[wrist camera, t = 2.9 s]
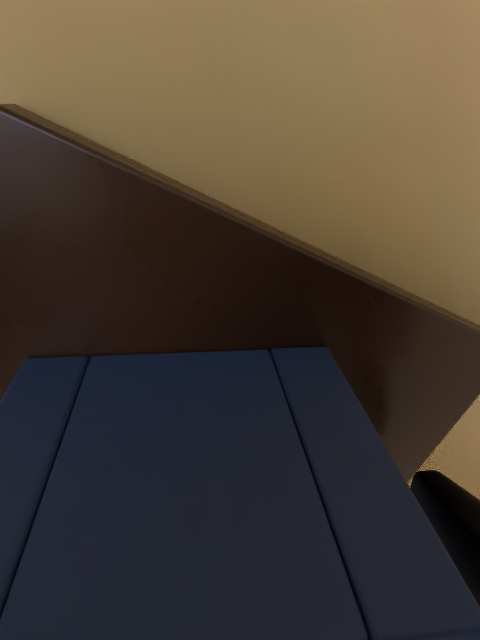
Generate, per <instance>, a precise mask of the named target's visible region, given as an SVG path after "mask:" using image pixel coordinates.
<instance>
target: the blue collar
mask: <svg viewBox="0 0 480 640" xmlns="http://www.w3.org/2000/svg"><path fill="white" fill-rule="evenodd" d="M0 640H480V607H479V605H478V603H477V602H476V600H475V598H474V597H473V595H472V593H471V591H470V590H469V588H468V586H467V585H466V583H465V581H464V579H463V578H462V576H461V574H460V573H459V571H458V569H457V567H456V566H455V564H454V562H453V561H452V559H451V557H450V556H449V554H448V552H447V550H446V549H445V547H444V545H443V544H442V542H441V540H440V538H439V537H438V535H437V533H436V532H435V530H434V528H433V527H432V525H431V523H430V521H429V520H428V518H427V516H426V515H425V513H424V511H423V509H422V508H421V506H420V504H419V503H418V501H417V499H416V498H415V496H414V494H413V492H412V491H411V489H410V487H409V486H408V484H407V482H406V480H405V479H404V477H403V475H402V474H401V472H400V470H399V468H398V467H397V465H396V463H395V462H394V460H393V458H392V457H391V455H390V453H389V451H388V450H387V448H386V446H385V445H384V443H383V441H382V439H381V438H380V436H379V434H378V433H377V431H376V429H375V428H374V426H373V424H372V422H371V421H370V419H369V417H368V416H367V414H366V412H365V410H364V409H363V407H362V405H361V404H360V402H359V400H358V398H357V397H356V395H355V393H354V392H353V390H352V388H351V387H350V385H349V383H348V381H347V380H346V378H345V376H344V375H343V373H342V371H341V369H340V368H339V366H338V364H337V363H336V361H335V359H334V358H333V356H332V354H331V352H330V351H329V349H328V348H327V347H301V348H274V349H271V352H269V351H268V350H265V349H263V350H236V351H209V352H182V353H154V354H127V355H100V356H93V357H91V358H90V361H89V360H88V358H87V357H85V356H73V357H46V358H28V359H26V360H24V361H23V363H22V365H21V366H20V368H19V370H18V371H17V373H16V375H15V377H14V378H13V380H12V382H11V383H10V385H9V387H8V388H7V390H6V392H5V393H4V395H3V397H2V398H1V400H0Z"/></svg>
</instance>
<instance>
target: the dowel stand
mask: <svg viewBox="0 0 480 640" xmlns="http://www.w3.org/2000/svg"><path fill="white" fill-rule="evenodd" d="M301 347H327V348H328V349H329V351H330V352H331V354H332V356H333V358H334V359H335V361H336V363H337V364H338V366H339V368H340V369H341V371H342V373H343V375H344V376H345V378H346V380H347V381H348V383H349V385H350V387H351V388H352V390H353V392H354V393H355V395H356V397H357V398H358V400H359V402H360V404H361V405H362V407H363V409H364V410H365V412H366V414H367V416H368V417H369V419H370V421H371V422H372V424H373V426H374V428H375V429H376V431H377V433H378V434H379V436H380V438H381V439H382V441H383V443H384V445H385V446H386V448H387V450H388V451H389V453H390V455H391V457H392V458H393V460H394V462H395V463H396V465H397V467H398V468H399V470H400V472H401V474H402V475H403V477H404V479H405V480H406V482H408V481H409V480H410V479H411V477H412V476H413V475H414V474H415V473H416V471H417V470H418V469H419V468H420V467H421V465H422V464H423V463H424V462H425V460H426V459H427V458H428V457H429V456H430V454H431V453H432V452H433V451H434V449H435V448H436V447H437V446H438V445H439V443H440V442H441V441H442V440H443V439H444V437H445V436H446V435H447V434H448V432H449V431H450V430H451V429H452V428H453V426H454V425H455V424H456V423H457V421H458V420H459V419H460V418H461V417H462V415H463V414H464V413H465V412H466V411H467V409H468V408H469V407H470V406H471V404H472V403H473V402H474V401H475V400H476V398H477V397H478V396H479V395H480V326H479V325H477V324H475V323H473V322H471V321H469V320H467V319H464V318H462V317H460V316H458V315H456V314H454V313H452V312H450V311H448V310H446V309H443V308H441V307H439V306H437V305H435V304H433V303H431V302H429V301H427V300H425V299H422V298H420V297H418V296H416V295H414V294H412V293H410V292H408V291H406V290H404V289H401V288H399V287H397V286H395V285H393V284H391V283H389V282H387V281H385V280H383V279H380V278H378V277H376V276H374V275H372V274H370V273H368V272H366V271H364V270H362V269H360V268H357V267H355V266H353V265H351V264H349V263H347V262H345V261H343V260H341V259H339V258H336V257H334V256H332V255H330V254H328V253H326V252H324V251H322V250H320V249H318V248H315V247H313V246H311V245H309V244H307V243H305V242H303V241H301V240H299V239H297V238H294V237H292V236H290V235H288V234H286V233H284V232H282V231H280V230H278V229H276V228H274V227H271V226H269V225H267V224H265V223H263V222H261V221H259V220H257V219H255V218H253V217H250V216H248V215H246V214H244V213H242V212H240V211H238V210H236V209H234V208H232V207H229V206H227V205H225V204H223V203H221V202H219V201H217V200H215V199H213V198H211V197H208V196H206V195H204V194H202V193H200V192H198V191H196V190H194V189H192V188H190V187H188V186H185V185H183V184H181V183H179V182H177V181H175V180H173V179H171V178H169V177H167V176H164V175H162V174H160V173H158V172H156V171H154V170H152V169H150V168H148V167H146V166H143V165H141V164H139V163H137V162H135V161H133V160H131V159H129V158H127V157H125V156H122V155H120V154H118V153H116V152H114V151H112V150H110V149H108V148H106V147H104V146H102V145H99V144H97V143H95V142H93V141H91V140H89V139H87V138H85V137H83V136H81V135H78V134H76V133H74V132H72V131H70V130H68V129H66V128H64V127H62V126H60V125H57V124H55V123H53V122H51V121H49V120H47V119H45V118H43V117H41V116H39V115H36V114H34V113H32V112H30V111H28V110H26V109H24V108H22V107H20V106H18V105H16V104H0V400H1V398H2V397H3V395H4V393H5V392H6V390H7V388H8V387H9V385H10V383H11V382H12V380H13V378H14V377H15V375H16V373H17V371H18V370H19V368H20V366H21V365H22V363H23V361H24V360H26V359H28V358H46V357H73V356H85V357H87V358H88V360H89V361H90V358H91V357H93V356H100V355H127V354H154V353H182V352H209V351H236V350H263V349H265V350H268V351H269V352H271V349H274V348H301Z"/></svg>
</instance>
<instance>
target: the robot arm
mask: <svg viewBox="0 0 480 640" xmlns="http://www.w3.org/2000/svg"><path fill="white" fill-rule="evenodd" d="M410 489H411V491H412V492H413V494H414V496H415V498H416V499H417V501H418V503H419V504H420V506H421V508H422V509H423V511H424V513H425V515H426V516H427V518H428V520H429V521H430V523H431V525H432V527H433V528H434V530H435V532H436V533H437V535H438V537H439V538H440V540H441V542H442V544H443V545H444V547H445V549H446V550H447V552H448V554H449V556H450V557H451V559H452V561H453V562H454V564H455V566H456V567H457V569H458V571H459V573H460V574H461V576H462V578H463V579H464V581H465V583H466V585H467V586H468V588H469V590H470V591H471V593H472V595H473V597H474V598H475V600H476V602H477V603H478V605H479V607H480V500H479V499H477V498H476V497H475V496H473V495H472V494H470V493H469V492H467V491H466V490H465V489H463V488H462V487H460V486H459V485H457V484H456V483H455V482H453V481H452V480H450V479H449V478H447V477H446V476H445V475H443V474H442V473H440V472H438V471H435V470H429V471H418V472H416V473H415V474H414V477H413V480H412V484H411V487H410Z"/></svg>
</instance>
